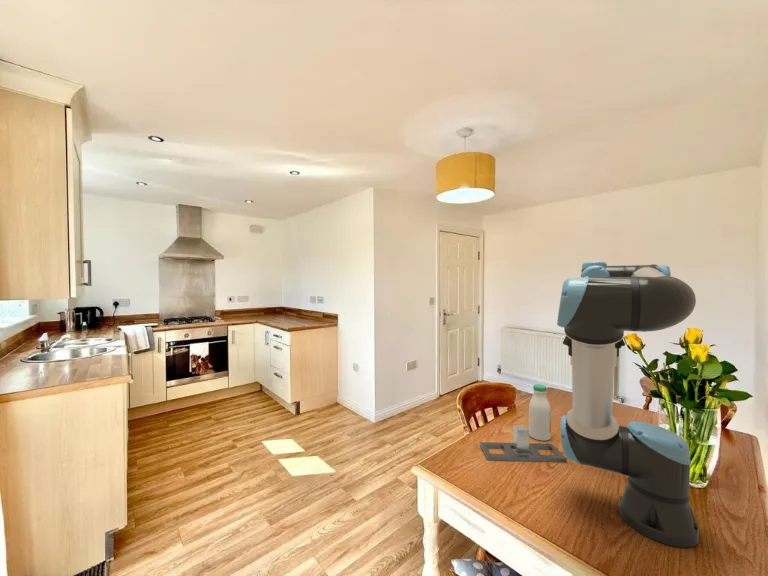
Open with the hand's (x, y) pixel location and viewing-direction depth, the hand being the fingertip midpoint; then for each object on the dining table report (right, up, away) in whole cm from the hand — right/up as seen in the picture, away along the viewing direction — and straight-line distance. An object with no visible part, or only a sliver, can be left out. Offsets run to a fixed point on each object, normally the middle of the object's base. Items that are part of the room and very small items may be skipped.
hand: (593, 365), depth 113 cm
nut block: (-26, -31, 0) cm, 40 cm away
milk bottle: (-13, -31, +12) cm, 36 cm away
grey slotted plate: (-26, -31, -1) cm, 40 cm away
